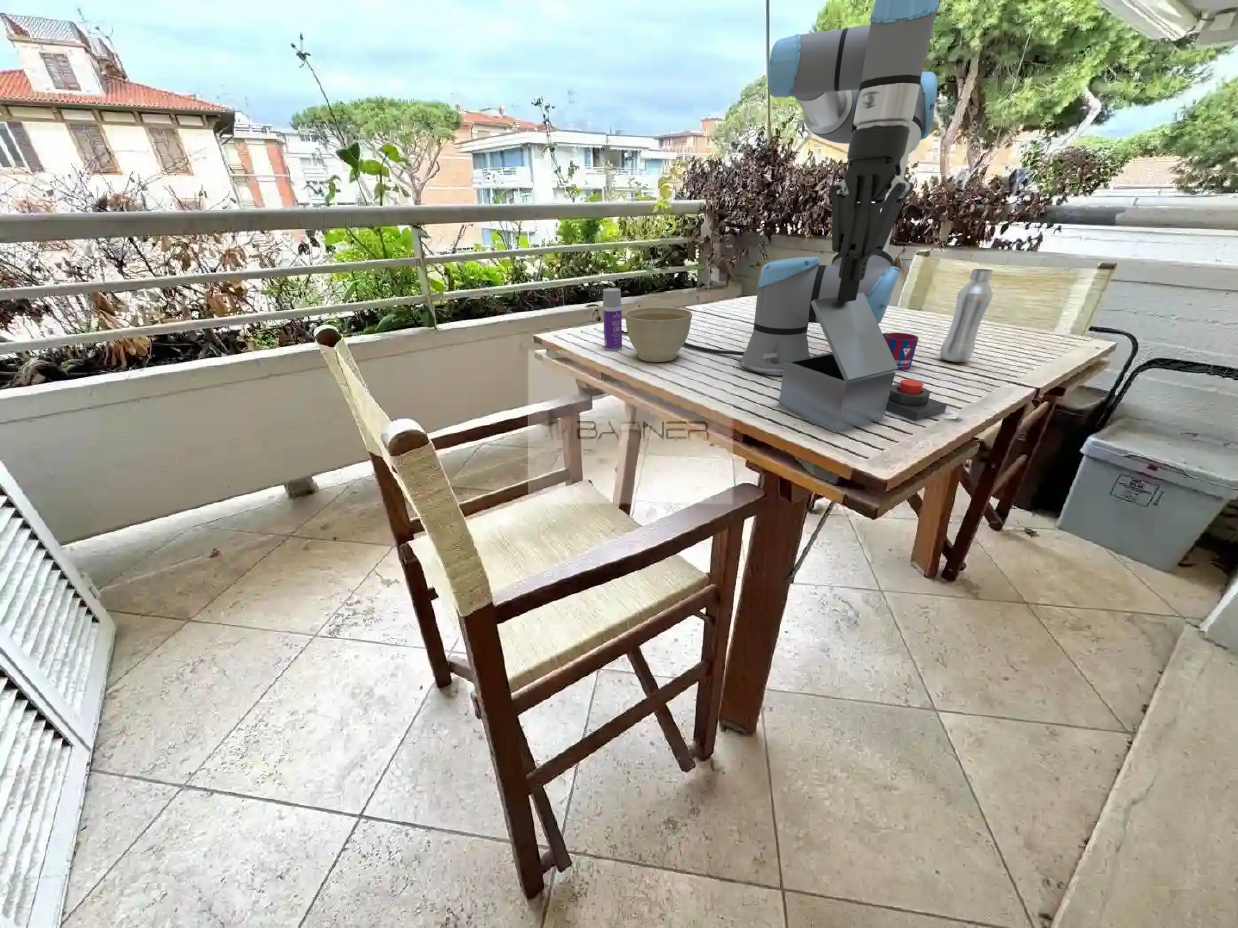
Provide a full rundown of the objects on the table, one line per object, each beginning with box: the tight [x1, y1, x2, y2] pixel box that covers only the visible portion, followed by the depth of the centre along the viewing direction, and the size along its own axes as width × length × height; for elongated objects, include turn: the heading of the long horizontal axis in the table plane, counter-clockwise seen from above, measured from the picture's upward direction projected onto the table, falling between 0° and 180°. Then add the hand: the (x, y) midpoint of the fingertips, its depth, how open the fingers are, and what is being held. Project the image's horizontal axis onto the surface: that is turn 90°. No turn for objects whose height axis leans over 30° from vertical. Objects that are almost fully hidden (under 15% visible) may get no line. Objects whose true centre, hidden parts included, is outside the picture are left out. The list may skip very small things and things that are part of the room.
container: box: [602, 287, 623, 352], centre depth 125 cm, size 5×5×15 cm
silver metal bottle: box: [939, 268, 994, 363], centre depth 108 cm, size 6×7×20 cm
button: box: [898, 378, 924, 394], centre depth 87 cm, size 4×4×2 cm
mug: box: [882, 332, 919, 371], centre depth 111 cm, size 7×10×7 cm
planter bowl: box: [624, 306, 693, 363], centre depth 118 cm, size 16×16×11 cm
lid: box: [811, 293, 898, 382], centre depth 79 cm, size 14×12×1 cm
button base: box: [885, 383, 948, 422], centre depth 89 cm, size 10×8×4 cm
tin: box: [777, 351, 896, 434], centre depth 86 cm, size 14×12×9 cm
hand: (846, 300), depth 79 cm, fingers closed
